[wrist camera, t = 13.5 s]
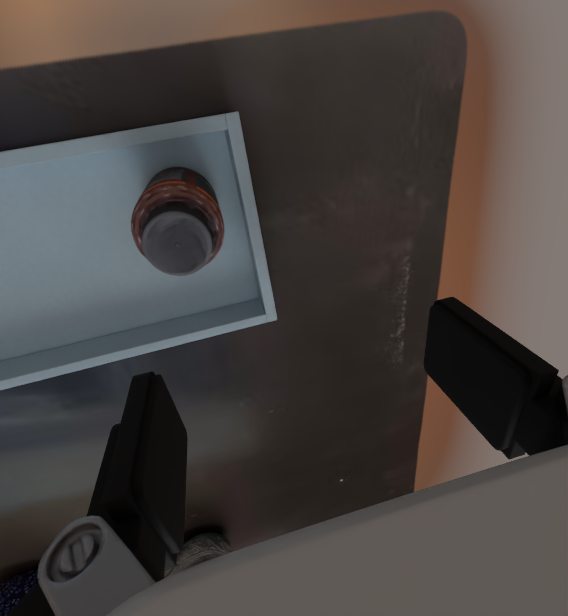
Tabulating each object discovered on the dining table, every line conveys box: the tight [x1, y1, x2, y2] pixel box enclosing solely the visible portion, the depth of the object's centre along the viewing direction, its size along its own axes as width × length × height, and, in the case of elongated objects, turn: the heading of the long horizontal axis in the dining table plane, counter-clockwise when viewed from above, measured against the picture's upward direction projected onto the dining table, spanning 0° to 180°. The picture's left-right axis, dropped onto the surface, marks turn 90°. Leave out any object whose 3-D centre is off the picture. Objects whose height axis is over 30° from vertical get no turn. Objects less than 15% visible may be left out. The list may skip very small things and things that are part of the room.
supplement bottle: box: [131, 167, 224, 276], centre depth 24 cm, size 6×6×11 cm
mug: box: [165, 532, 233, 578], centre depth 52 cm, size 10×12×10 cm
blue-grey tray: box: [0, 111, 277, 390], centre depth 28 cm, size 34×18×4 cm, turn 98°
